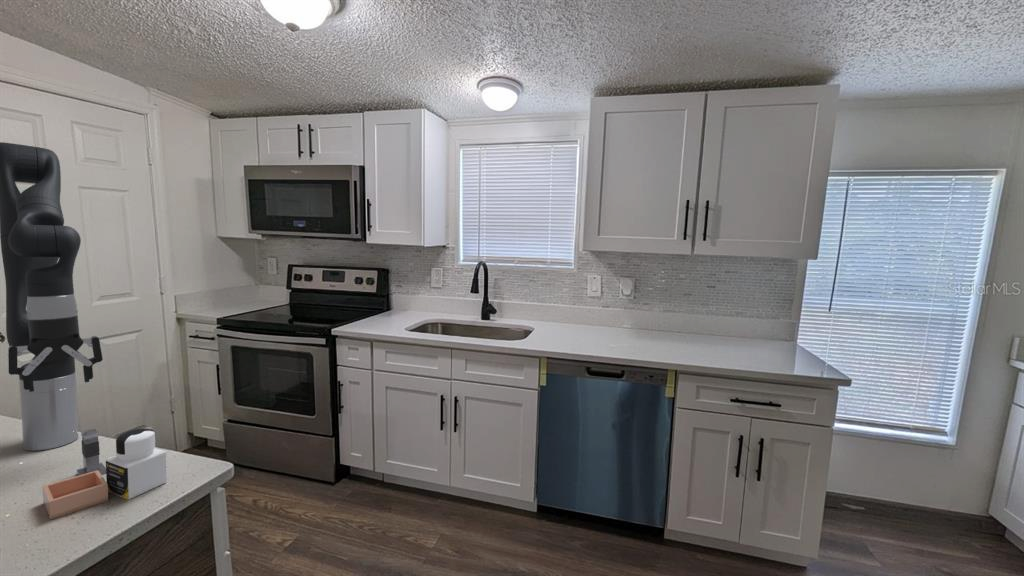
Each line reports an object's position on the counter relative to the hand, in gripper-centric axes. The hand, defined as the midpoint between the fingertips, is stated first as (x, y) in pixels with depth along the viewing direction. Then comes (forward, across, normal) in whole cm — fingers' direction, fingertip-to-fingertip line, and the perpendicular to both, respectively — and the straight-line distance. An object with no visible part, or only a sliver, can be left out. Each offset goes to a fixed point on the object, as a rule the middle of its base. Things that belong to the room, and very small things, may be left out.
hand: (60, 386), depth 95 cm
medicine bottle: (+19, -9, +23) cm, 31 cm away
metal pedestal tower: (+18, -3, +10) cm, 21 cm away
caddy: (+19, 0, +22) cm, 29 cm away
